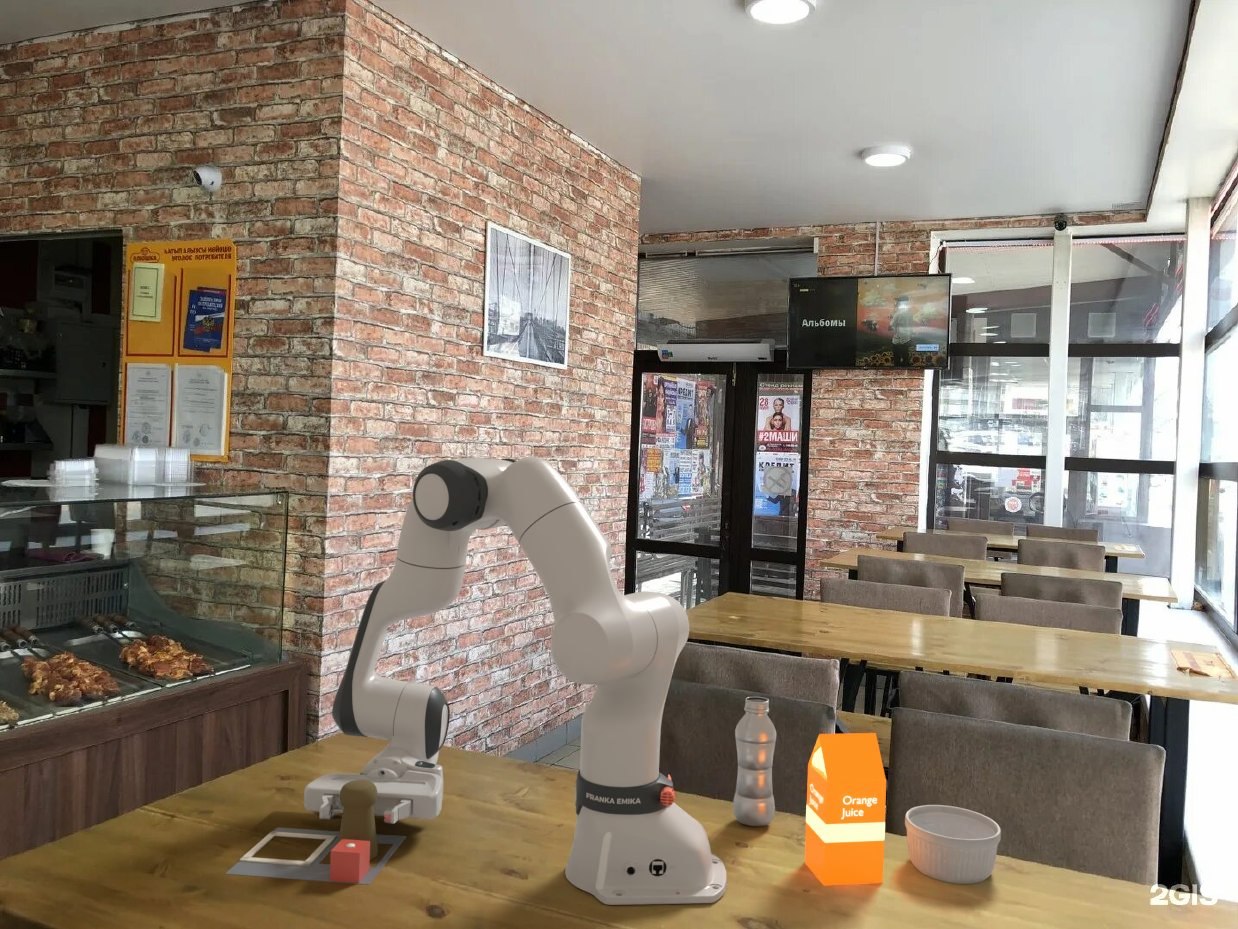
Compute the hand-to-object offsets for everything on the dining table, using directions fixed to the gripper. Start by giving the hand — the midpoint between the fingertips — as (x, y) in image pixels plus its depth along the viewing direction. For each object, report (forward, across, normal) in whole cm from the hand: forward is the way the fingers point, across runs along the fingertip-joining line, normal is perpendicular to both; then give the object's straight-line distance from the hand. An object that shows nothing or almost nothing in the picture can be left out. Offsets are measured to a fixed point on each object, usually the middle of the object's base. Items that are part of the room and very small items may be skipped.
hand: (356, 816), depth 138 cm
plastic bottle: (-24, +57, +7) cm, 62 cm away
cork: (-1, 0, +7) cm, 7 cm away
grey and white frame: (0, -5, +6) cm, 8 cm away
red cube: (+6, +1, +6) cm, 8 cm away
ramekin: (-12, +85, +7) cm, 86 cm away
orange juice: (-8, +69, +7) cm, 70 cm away
